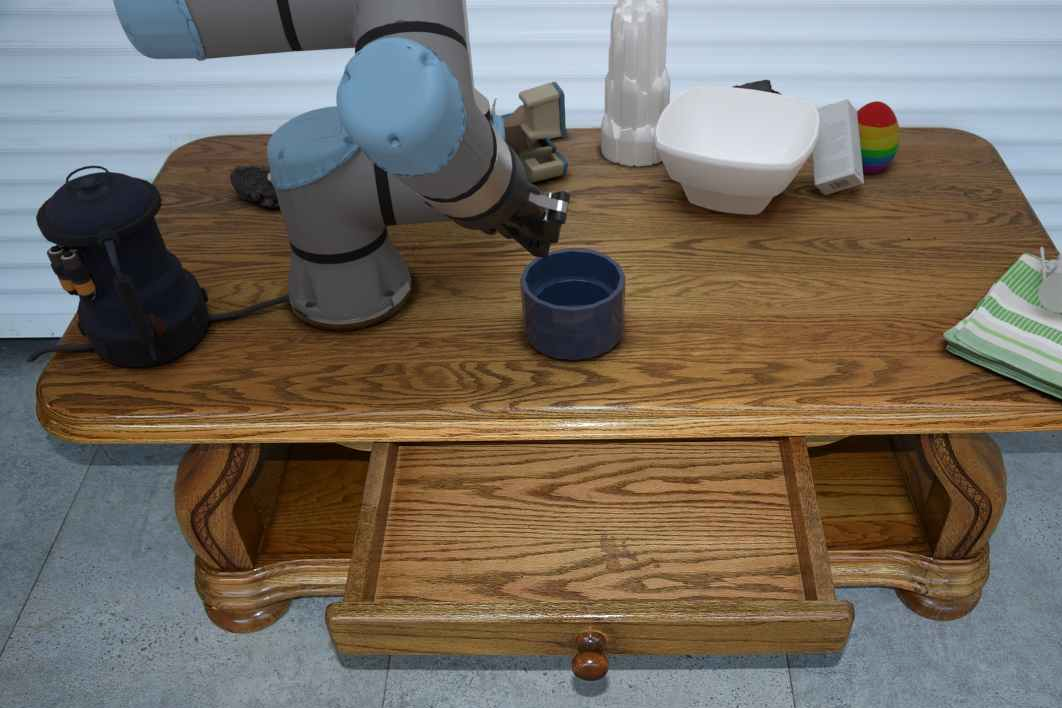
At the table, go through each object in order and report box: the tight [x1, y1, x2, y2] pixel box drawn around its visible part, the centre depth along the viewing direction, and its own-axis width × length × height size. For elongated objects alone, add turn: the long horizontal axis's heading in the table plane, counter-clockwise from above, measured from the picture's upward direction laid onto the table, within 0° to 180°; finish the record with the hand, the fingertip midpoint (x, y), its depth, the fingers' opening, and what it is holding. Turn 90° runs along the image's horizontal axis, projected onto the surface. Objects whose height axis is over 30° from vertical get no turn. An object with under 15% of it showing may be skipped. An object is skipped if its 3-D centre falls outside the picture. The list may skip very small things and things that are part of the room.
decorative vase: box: [600, 0, 671, 167], centre depth 139 cm, size 11×11×25 cm
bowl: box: [653, 85, 820, 216], centre depth 133 cm, size 22×22×12 cm
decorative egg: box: [856, 100, 901, 174], centre depth 140 cm, size 8×8×10 cm
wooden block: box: [504, 104, 537, 151], centre depth 140 cm, size 4×4×8 cm
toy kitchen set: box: [499, 81, 569, 184], centre depth 141 cm, size 18×14×11 cm
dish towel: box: [942, 252, 1062, 400], centre depth 113 cm, size 18×23×3 cm
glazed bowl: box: [519, 247, 626, 361], centre depth 112 cm, size 12×12×8 cm
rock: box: [229, 163, 280, 209], centre depth 135 cm, size 12×8×10 cm
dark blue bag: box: [35, 165, 210, 368], centre depth 106 cm, size 15×21×20 cm
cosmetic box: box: [811, 98, 865, 196], centre depth 136 cm, size 6×4×12 cm
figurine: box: [1038, 246, 1062, 313], centre depth 116 cm, size 5×5×12 cm
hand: (543, 244), depth 96 cm, fingers closed
